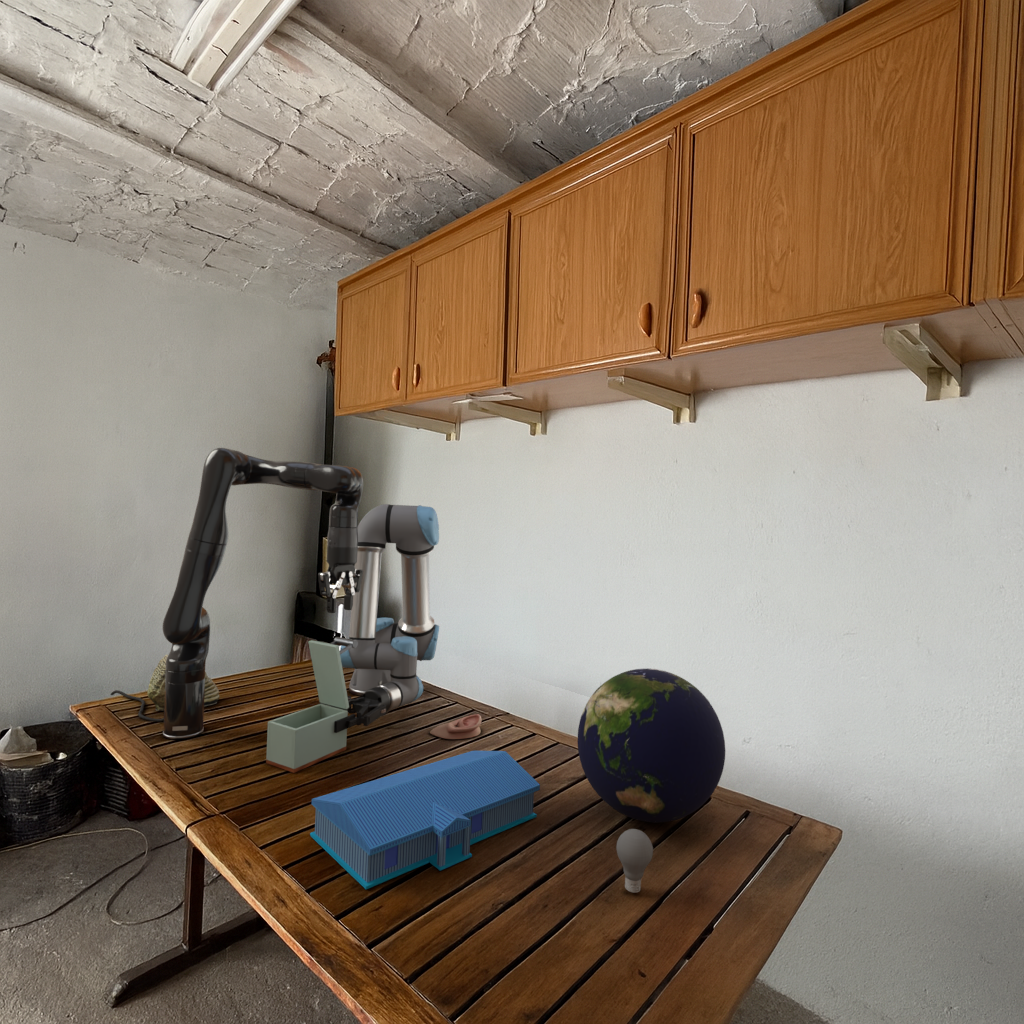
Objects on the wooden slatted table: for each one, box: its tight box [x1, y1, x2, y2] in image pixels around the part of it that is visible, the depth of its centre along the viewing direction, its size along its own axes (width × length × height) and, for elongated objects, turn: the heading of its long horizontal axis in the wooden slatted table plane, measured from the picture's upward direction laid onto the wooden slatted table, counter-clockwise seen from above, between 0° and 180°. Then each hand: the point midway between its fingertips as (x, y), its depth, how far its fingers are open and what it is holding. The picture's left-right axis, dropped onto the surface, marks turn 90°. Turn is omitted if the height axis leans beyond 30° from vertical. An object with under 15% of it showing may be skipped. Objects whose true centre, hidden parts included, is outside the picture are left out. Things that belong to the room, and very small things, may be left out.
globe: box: [577, 667, 726, 824], centre depth 132 cm, size 30×30×30 cm
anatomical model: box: [429, 713, 482, 740], centre depth 174 cm, size 13×4×12 cm
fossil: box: [147, 654, 221, 712], centre depth 185 cm, size 9×18×15 cm, turn 132°
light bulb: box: [615, 828, 654, 894], centre depth 106 cm, size 6×6×10 cm
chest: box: [265, 703, 349, 774], centre depth 154 cm, size 17×9×10 cm, turn 151°
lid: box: [307, 636, 358, 709], centre depth 162 cm, size 17×9×9 cm
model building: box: [309, 750, 541, 890], centre depth 123 cm, size 39×24×10 cm, turn 132°
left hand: (339, 610), depth 161 cm, fingers open, 5 cm apart
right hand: (320, 722), depth 157 cm, fingers closed on chest, 9 cm apart
